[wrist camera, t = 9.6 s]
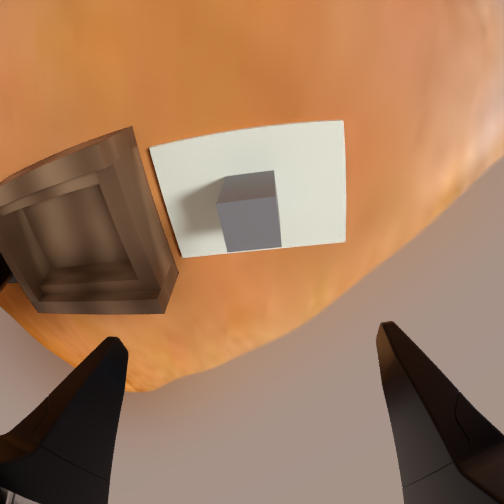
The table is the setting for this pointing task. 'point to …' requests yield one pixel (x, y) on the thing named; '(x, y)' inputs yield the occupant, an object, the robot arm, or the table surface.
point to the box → (87, 231)
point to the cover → (255, 187)
